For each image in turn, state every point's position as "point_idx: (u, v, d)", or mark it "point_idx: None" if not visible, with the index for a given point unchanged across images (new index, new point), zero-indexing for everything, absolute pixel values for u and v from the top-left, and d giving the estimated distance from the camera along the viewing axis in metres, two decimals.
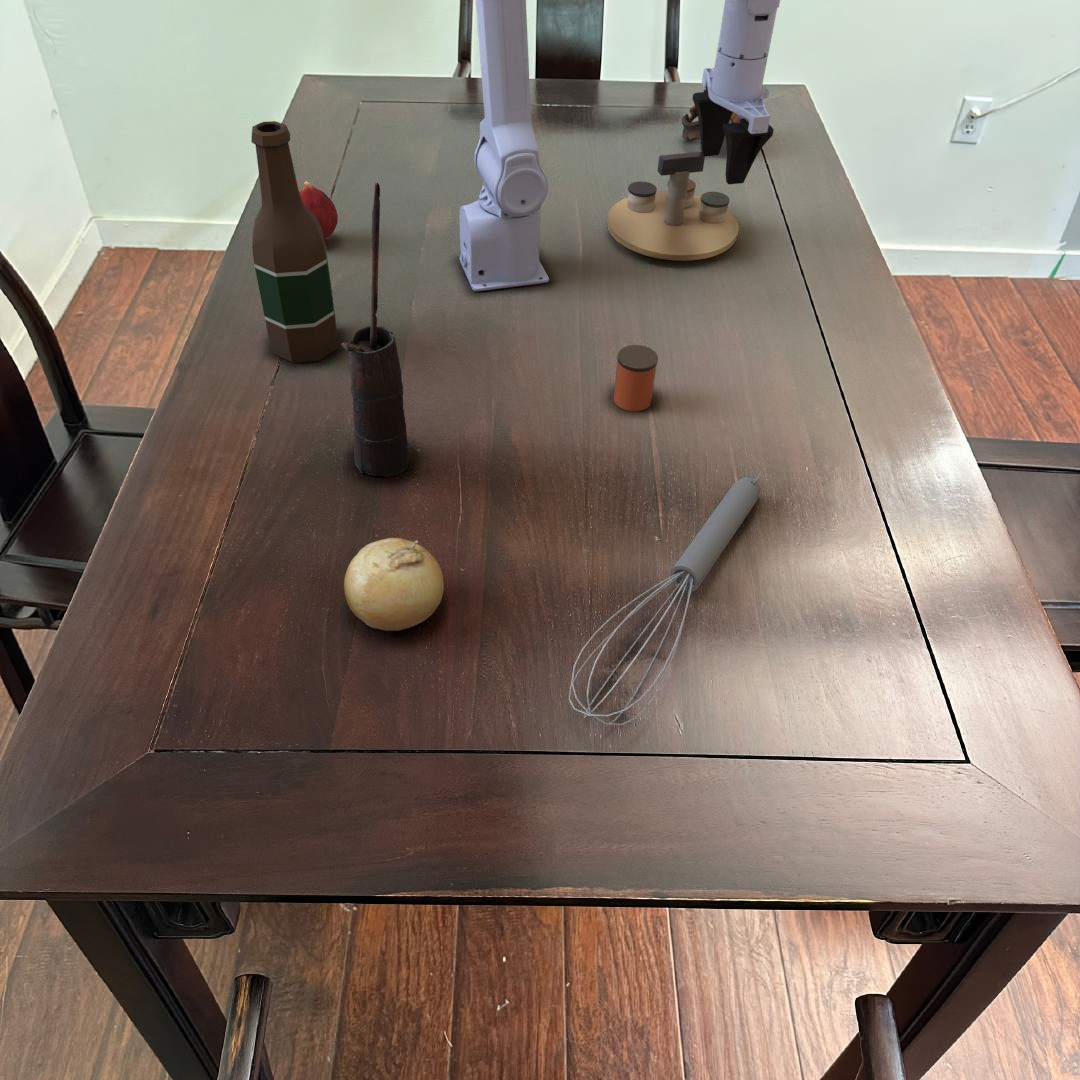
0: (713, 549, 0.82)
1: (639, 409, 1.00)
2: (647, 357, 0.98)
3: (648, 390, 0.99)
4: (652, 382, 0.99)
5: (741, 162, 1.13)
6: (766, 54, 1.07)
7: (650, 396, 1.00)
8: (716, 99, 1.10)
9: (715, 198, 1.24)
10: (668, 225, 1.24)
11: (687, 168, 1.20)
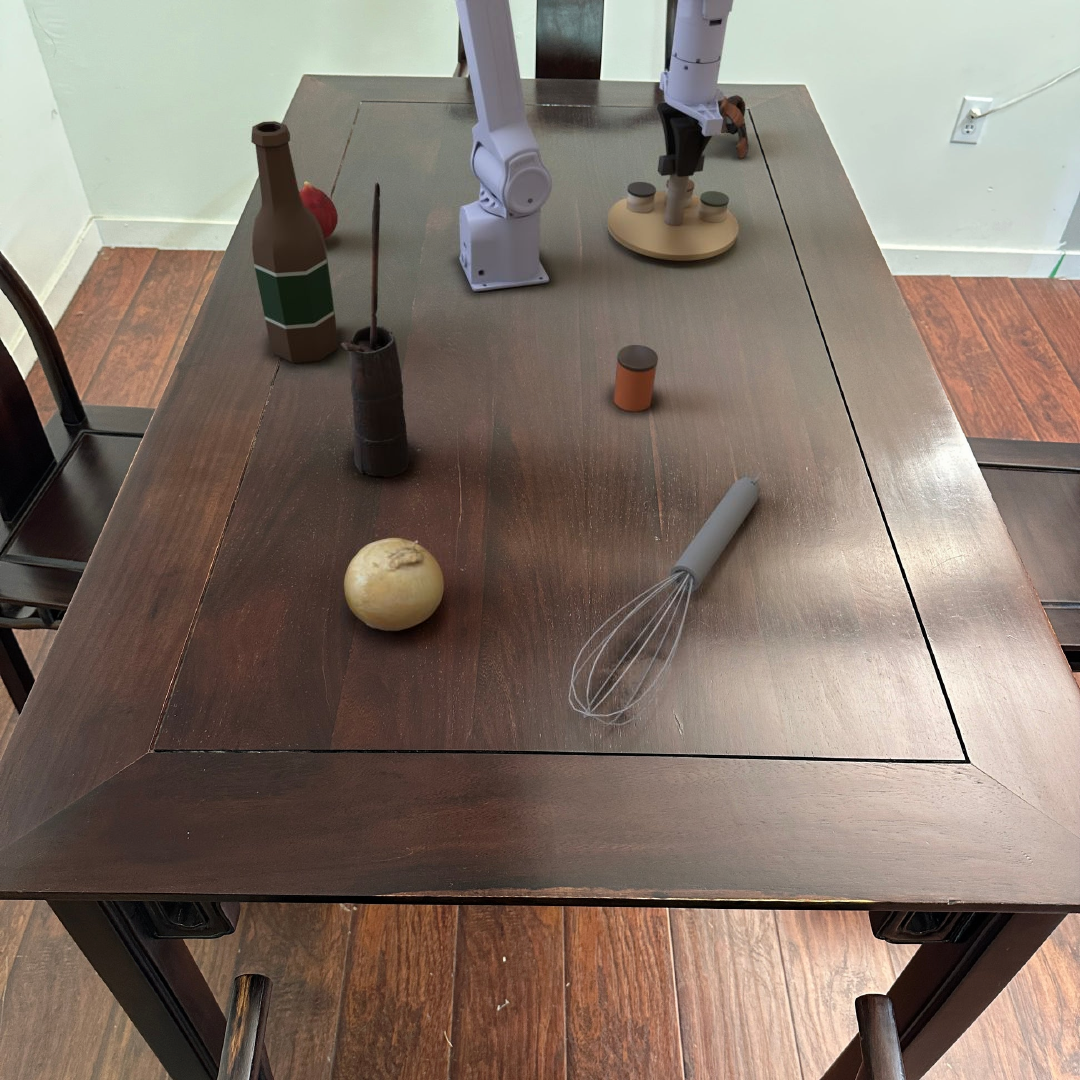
0: (713, 549, 0.82)
1: (639, 409, 1.00)
2: (647, 357, 0.98)
3: (648, 390, 0.99)
4: (652, 382, 0.99)
5: (690, 155, 1.17)
6: (720, 57, 1.10)
7: (650, 396, 1.00)
8: (671, 102, 1.13)
9: (715, 198, 1.25)
10: (668, 225, 1.24)
11: None
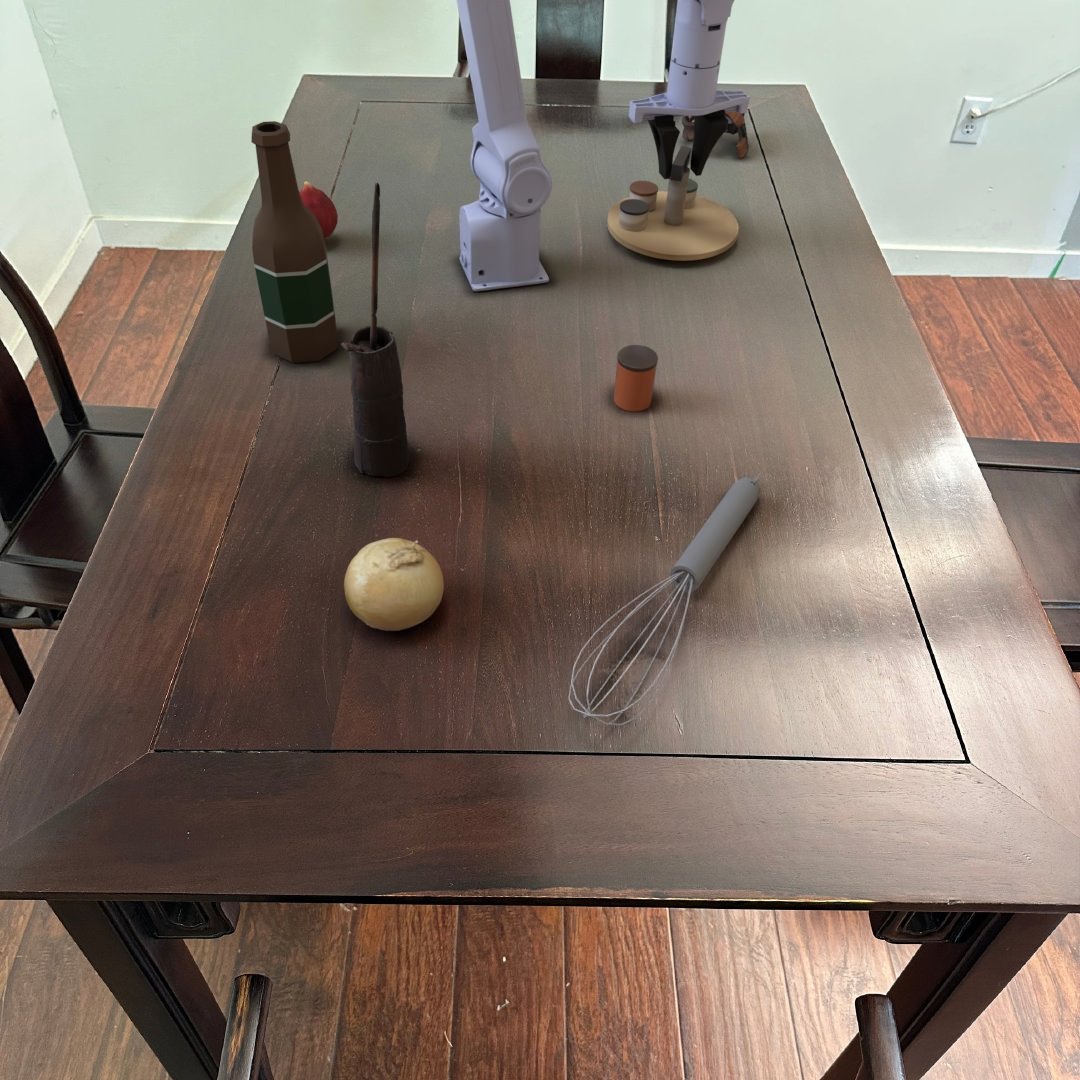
0: (713, 549, 0.82)
1: (639, 409, 1.00)
2: (647, 357, 0.98)
3: (648, 390, 0.99)
4: (652, 382, 0.99)
5: None
6: (719, 62, 1.10)
7: (650, 396, 1.00)
8: (707, 110, 1.13)
9: None
10: (678, 226, 1.24)
11: (687, 165, 1.20)
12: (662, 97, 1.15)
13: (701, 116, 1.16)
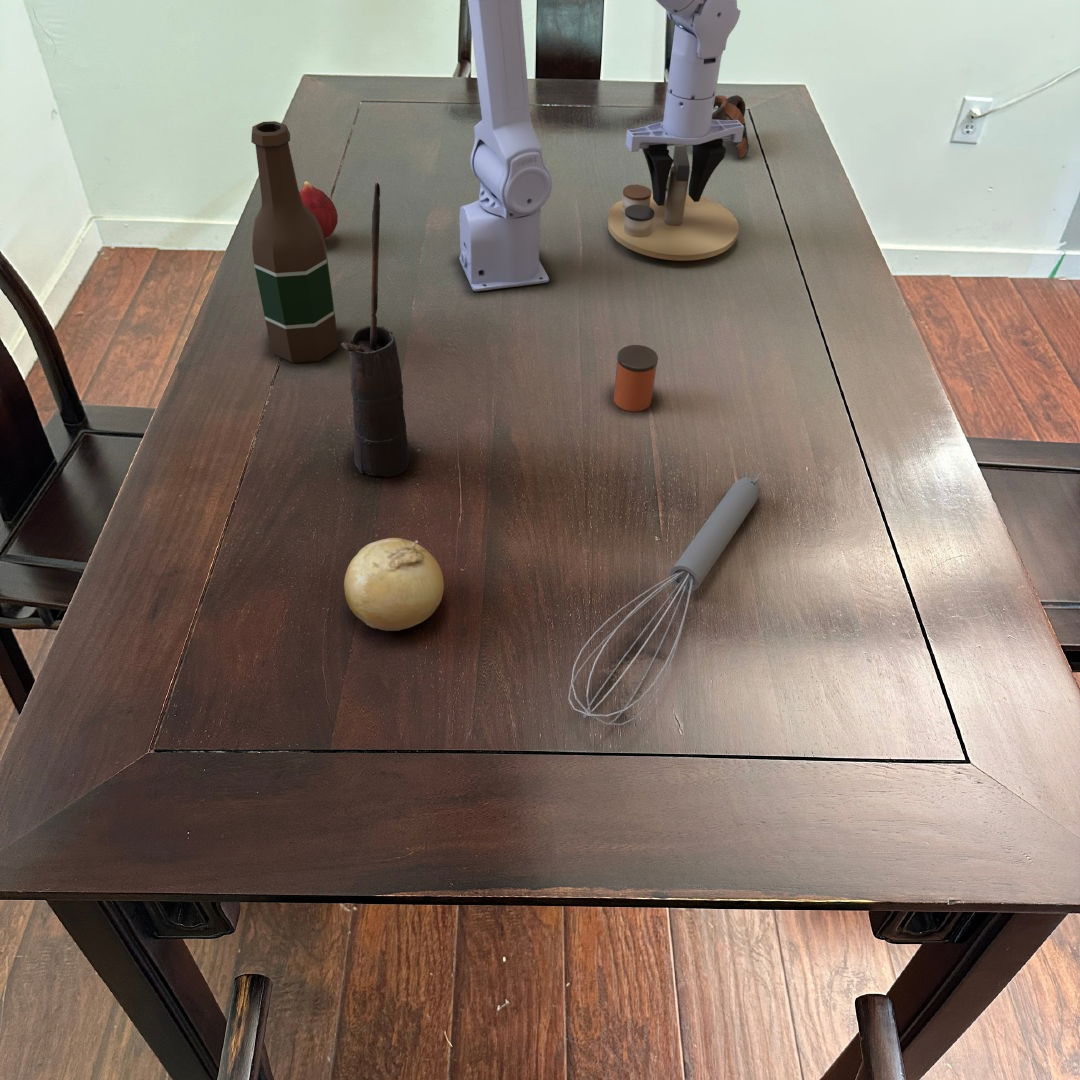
0: (713, 549, 0.82)
1: (639, 409, 1.00)
2: (647, 357, 0.98)
3: (648, 390, 0.99)
4: (652, 382, 0.99)
5: None
6: (714, 93, 1.12)
7: (650, 396, 1.00)
8: (703, 139, 1.15)
9: None
10: (680, 225, 1.25)
11: None
12: (658, 126, 1.17)
13: (699, 144, 1.19)
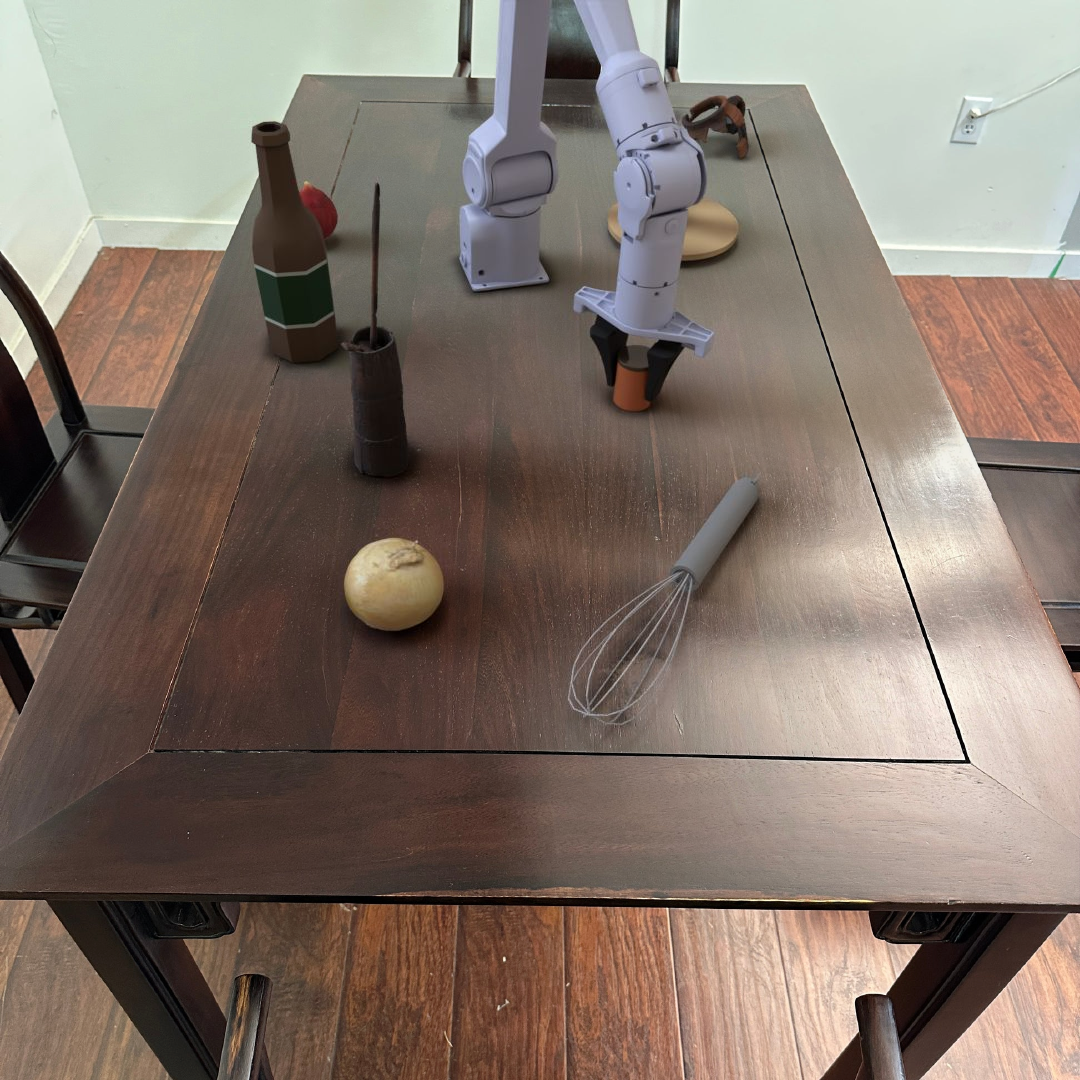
0: (713, 549, 0.82)
1: (639, 409, 1.00)
2: (646, 357, 0.98)
3: None
4: None
5: (660, 376, 0.98)
6: (639, 284, 0.89)
7: None
8: (639, 332, 0.92)
9: None
10: None
11: None
12: None
13: None
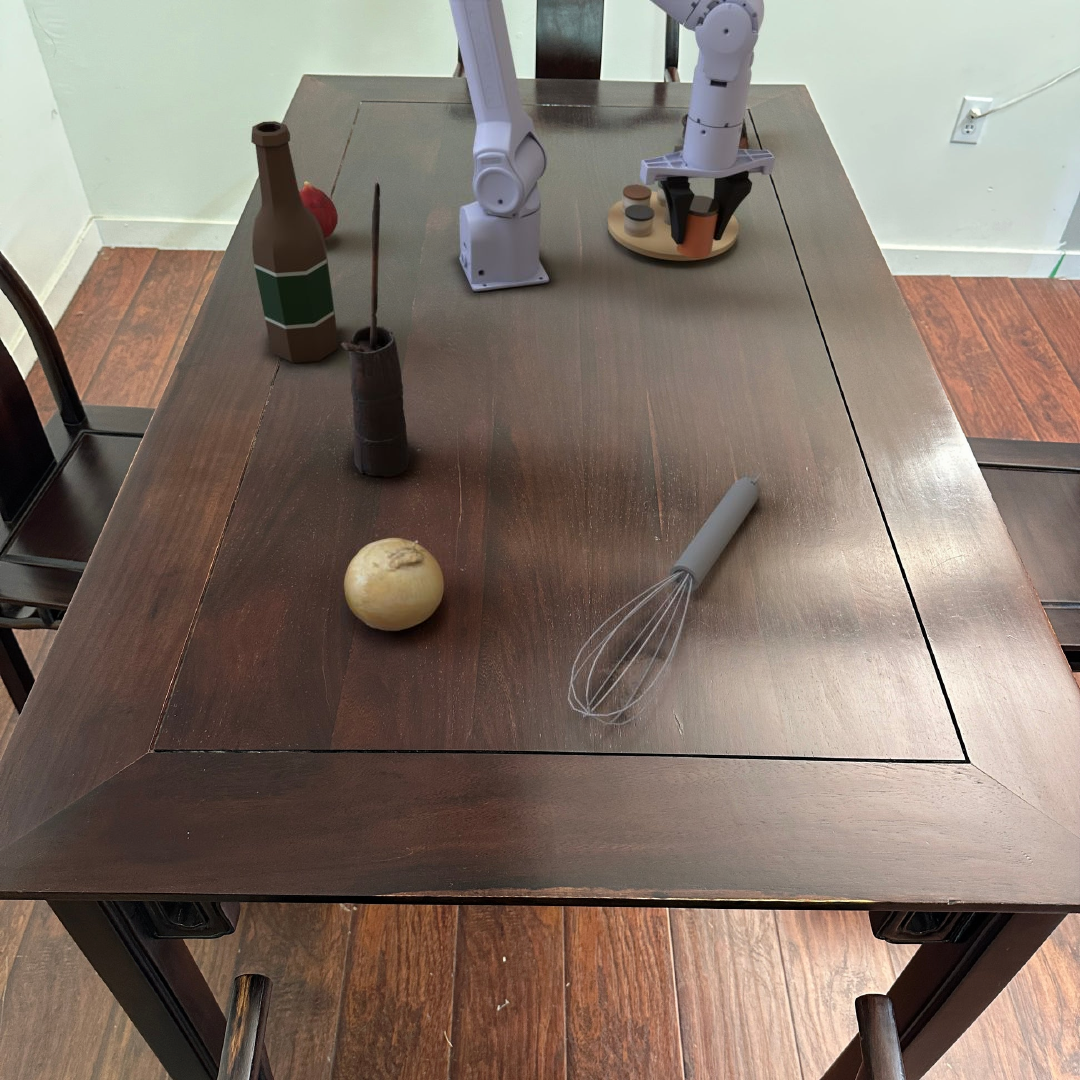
0: (712, 549, 0.82)
1: (710, 252, 1.09)
2: (707, 201, 1.07)
3: None
4: None
5: None
6: (730, 125, 0.97)
7: None
8: (727, 172, 1.01)
9: None
10: None
11: None
12: (678, 155, 1.04)
13: (722, 177, 1.05)
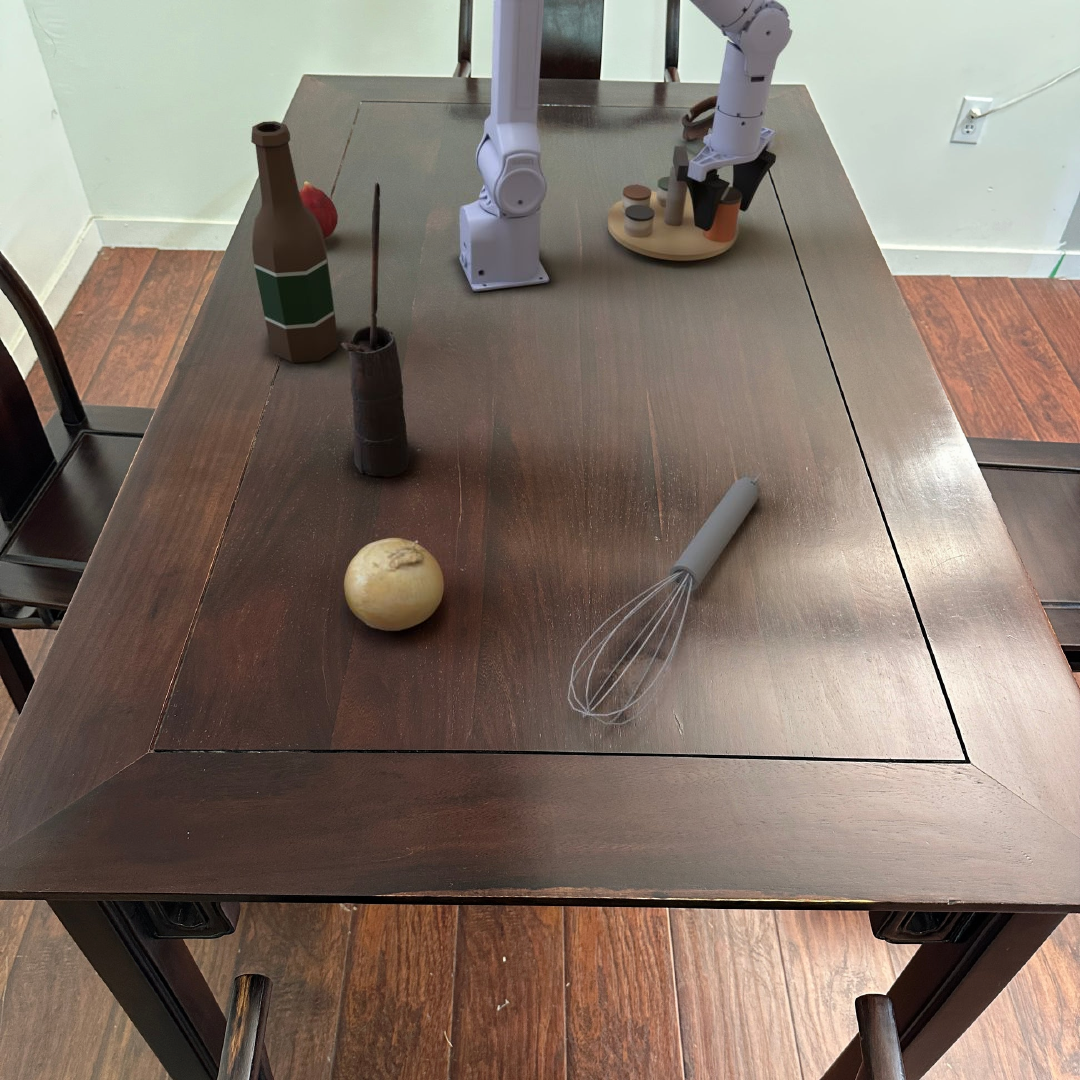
0: (712, 549, 0.82)
1: None
2: (727, 190, 1.20)
3: None
4: None
5: None
6: (763, 112, 1.11)
7: None
8: (758, 153, 1.14)
9: None
10: (680, 225, 1.25)
11: None
12: (706, 149, 1.15)
13: None
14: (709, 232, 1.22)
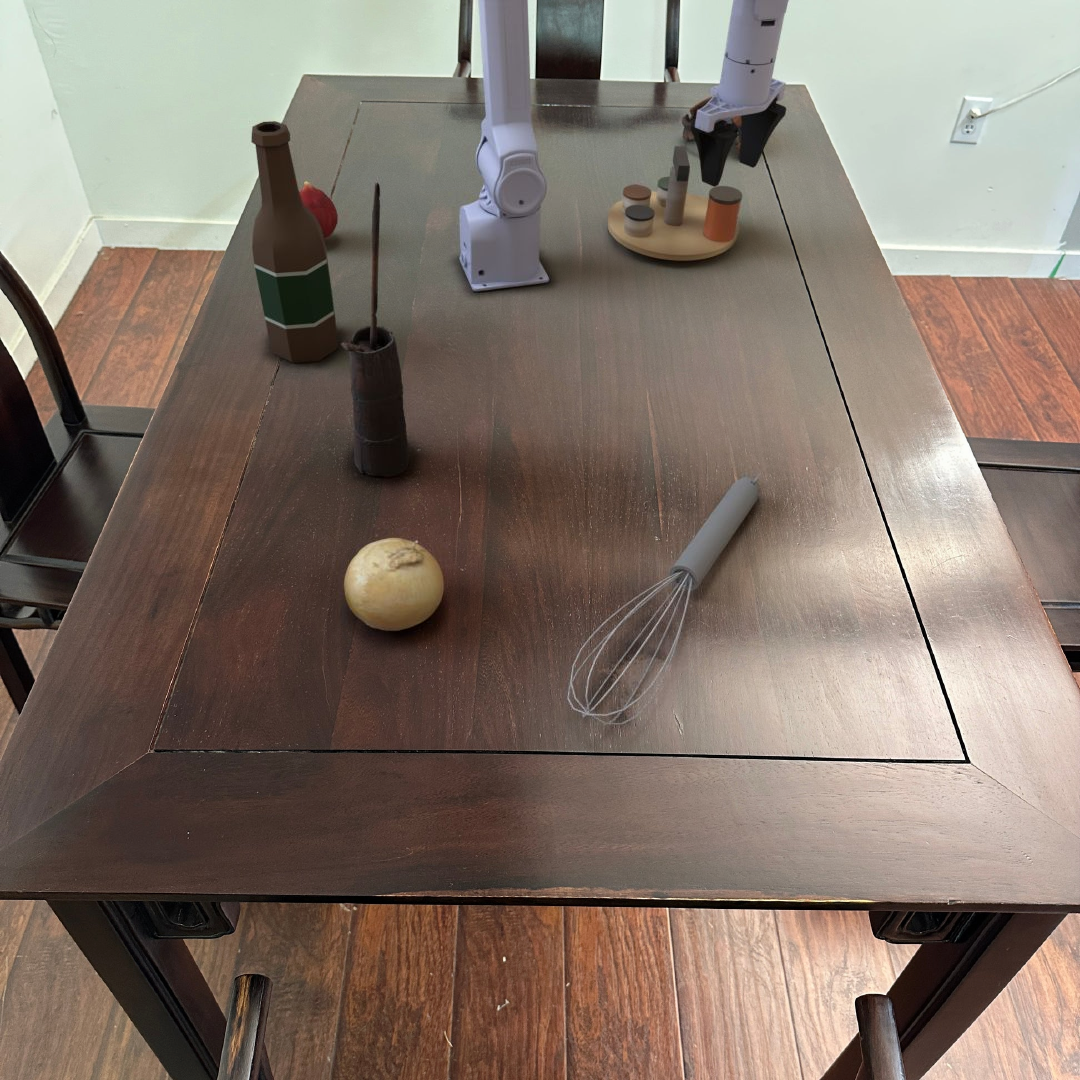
0: (712, 549, 0.82)
1: None
2: (727, 190, 1.20)
3: None
4: None
5: None
6: (773, 59, 1.06)
7: None
8: (768, 104, 1.10)
9: None
10: (680, 225, 1.25)
11: None
12: (714, 100, 1.11)
13: None
14: (709, 232, 1.22)
